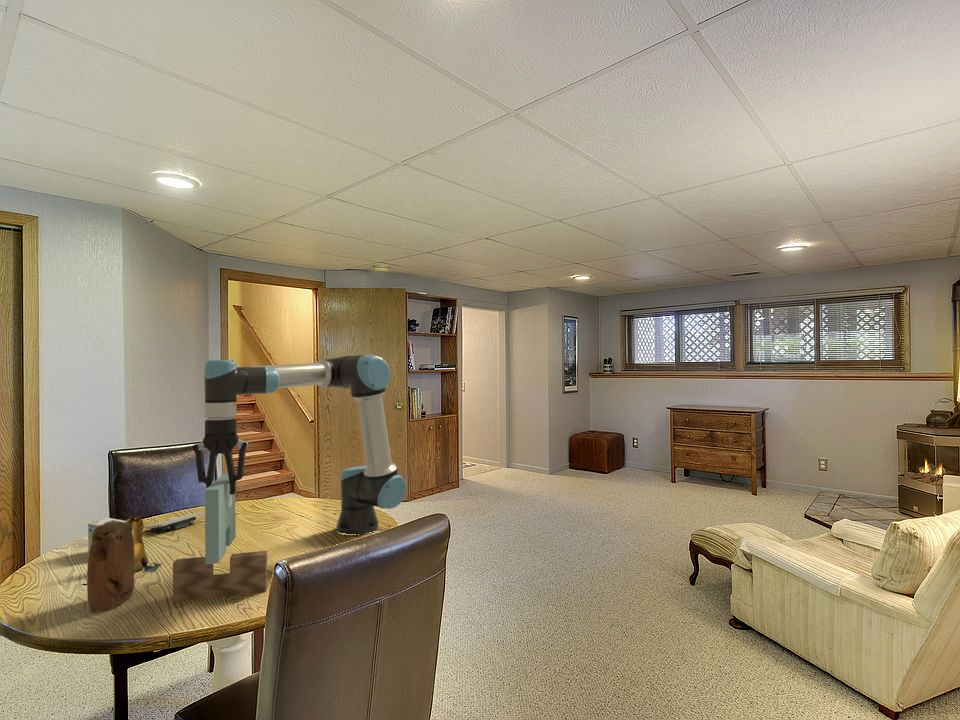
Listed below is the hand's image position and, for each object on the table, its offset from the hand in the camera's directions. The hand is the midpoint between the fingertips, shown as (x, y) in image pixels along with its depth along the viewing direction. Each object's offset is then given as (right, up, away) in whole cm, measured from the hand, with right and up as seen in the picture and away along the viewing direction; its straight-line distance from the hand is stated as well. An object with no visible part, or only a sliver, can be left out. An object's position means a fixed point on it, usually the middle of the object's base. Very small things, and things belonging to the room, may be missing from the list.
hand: (221, 507), depth 135 cm
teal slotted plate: (0, -11, 0) cm, 11 cm away
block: (-25, -23, -5) cm, 35 cm away
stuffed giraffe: (-35, -24, +16) cm, 46 cm away
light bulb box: (-51, -24, +29) cm, 64 cm away
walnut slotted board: (0, -23, 0) cm, 23 cm away
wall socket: (-41, -25, +55) cm, 73 cm away
